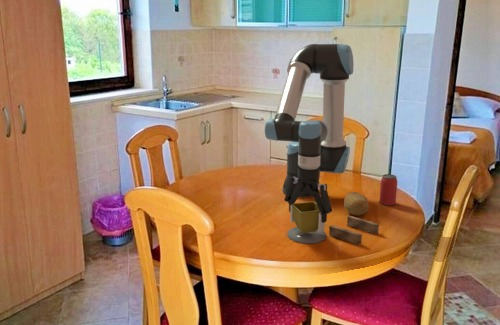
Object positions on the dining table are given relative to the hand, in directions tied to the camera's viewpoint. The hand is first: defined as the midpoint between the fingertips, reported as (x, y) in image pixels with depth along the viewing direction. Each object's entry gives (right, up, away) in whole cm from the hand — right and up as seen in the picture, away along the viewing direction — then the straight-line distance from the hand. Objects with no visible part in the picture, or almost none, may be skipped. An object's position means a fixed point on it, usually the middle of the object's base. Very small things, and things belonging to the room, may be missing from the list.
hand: (307, 225), depth 175 cm
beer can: (+37, +5, +32) cm, 49 cm away
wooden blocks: (+17, -3, +2) cm, 17 cm away
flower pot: (0, -2, 0) cm, 2 cm away
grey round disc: (0, -4, +1) cm, 4 cm away
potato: (+22, +2, +21) cm, 30 cm away
